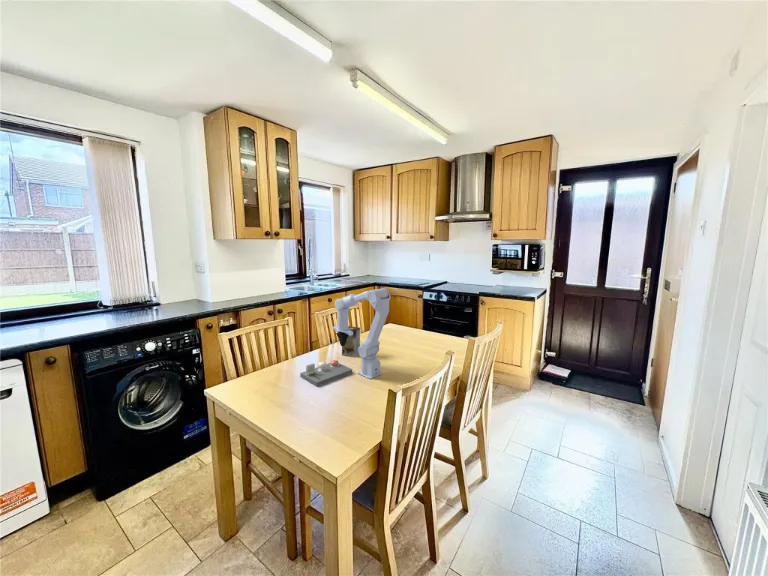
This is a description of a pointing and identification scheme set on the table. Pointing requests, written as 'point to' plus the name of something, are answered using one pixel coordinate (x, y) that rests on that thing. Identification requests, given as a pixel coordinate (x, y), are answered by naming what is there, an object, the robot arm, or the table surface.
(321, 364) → the white button
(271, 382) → the table surface
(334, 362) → the red button
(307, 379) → the control panel
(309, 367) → the grey square block
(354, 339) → the coffee box
